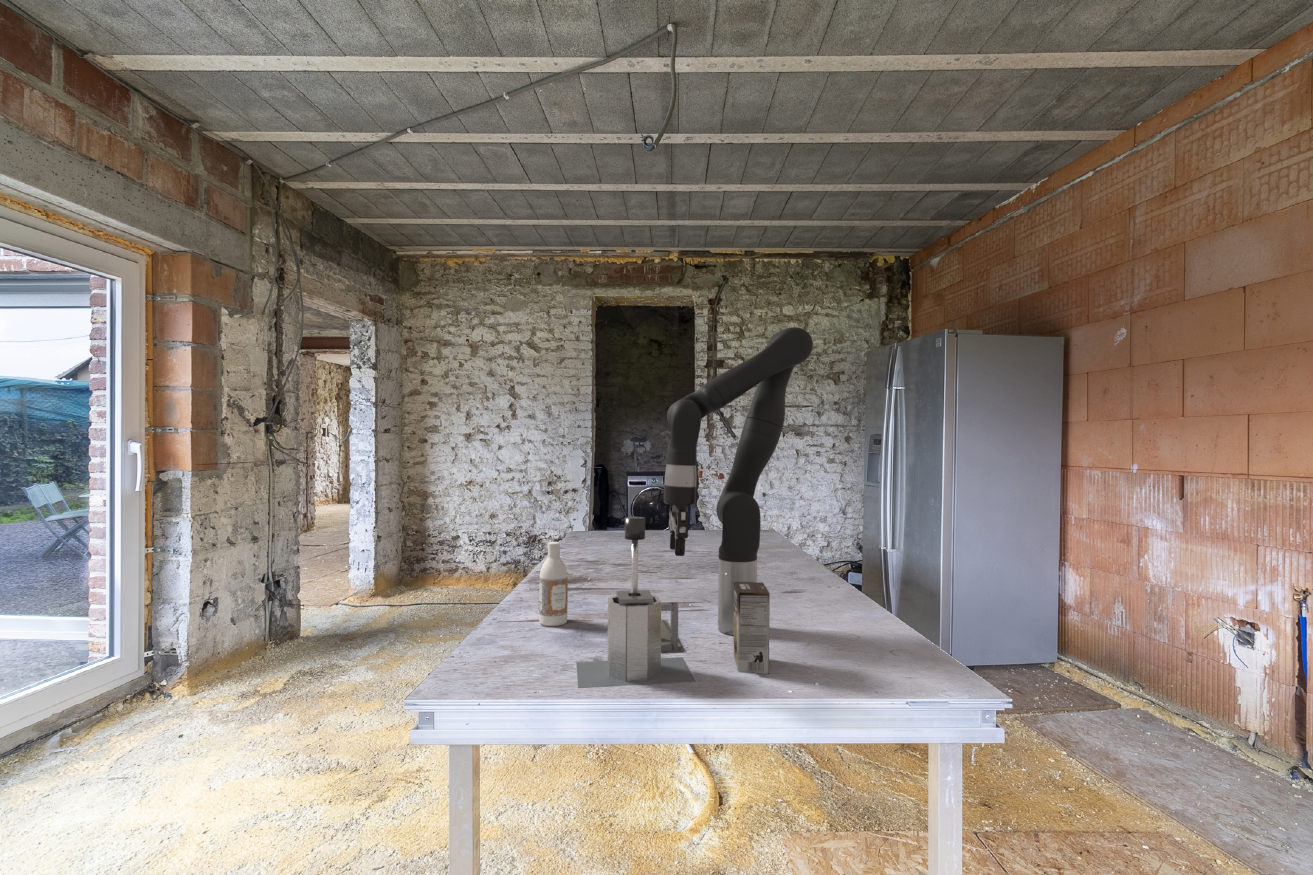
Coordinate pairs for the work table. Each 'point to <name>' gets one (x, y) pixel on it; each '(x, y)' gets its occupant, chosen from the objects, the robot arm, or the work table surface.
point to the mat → (599, 677)
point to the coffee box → (751, 627)
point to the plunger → (634, 546)
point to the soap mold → (667, 635)
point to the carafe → (638, 635)
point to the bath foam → (553, 589)
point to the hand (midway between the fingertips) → (676, 552)
